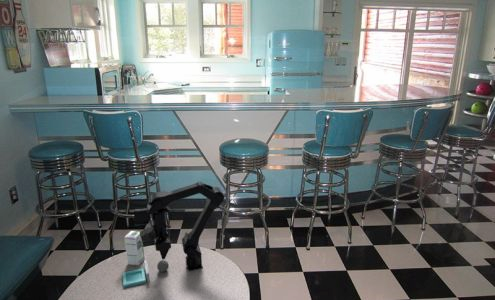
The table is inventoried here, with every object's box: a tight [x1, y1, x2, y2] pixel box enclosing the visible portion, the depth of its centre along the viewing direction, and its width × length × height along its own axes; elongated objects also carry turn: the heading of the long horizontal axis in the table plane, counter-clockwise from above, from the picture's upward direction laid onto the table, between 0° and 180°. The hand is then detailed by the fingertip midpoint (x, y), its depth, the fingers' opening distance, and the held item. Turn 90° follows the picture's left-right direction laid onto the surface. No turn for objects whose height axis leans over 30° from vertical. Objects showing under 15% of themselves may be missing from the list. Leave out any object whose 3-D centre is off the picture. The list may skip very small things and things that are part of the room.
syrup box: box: [123, 230, 146, 266], centre depth 161 cm, size 6×6×14 cm
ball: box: [156, 259, 169, 273], centre depth 155 cm, size 5×5×5 cm
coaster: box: [122, 267, 147, 288], centre depth 150 cm, size 9×9×1 cm
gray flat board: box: [143, 259, 151, 283], centre depth 153 cm, size 1×11×4 cm, turn 20°
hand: (162, 253), depth 153 cm, fingers open, 9 cm apart
